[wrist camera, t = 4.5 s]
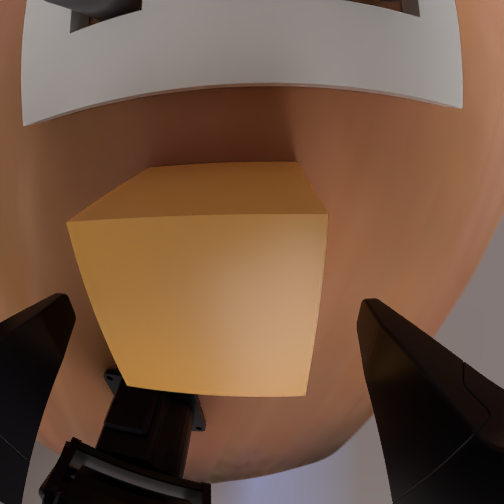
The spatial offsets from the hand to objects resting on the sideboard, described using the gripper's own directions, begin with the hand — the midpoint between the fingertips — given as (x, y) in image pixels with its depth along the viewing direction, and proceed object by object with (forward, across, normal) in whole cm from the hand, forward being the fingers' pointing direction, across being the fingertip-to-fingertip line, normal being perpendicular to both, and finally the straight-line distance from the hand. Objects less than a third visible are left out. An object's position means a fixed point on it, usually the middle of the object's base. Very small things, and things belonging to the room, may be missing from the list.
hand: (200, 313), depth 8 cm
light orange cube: (+5, 0, 0) cm, 5 cm away
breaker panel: (+5, -1, -12) cm, 13 cm away
